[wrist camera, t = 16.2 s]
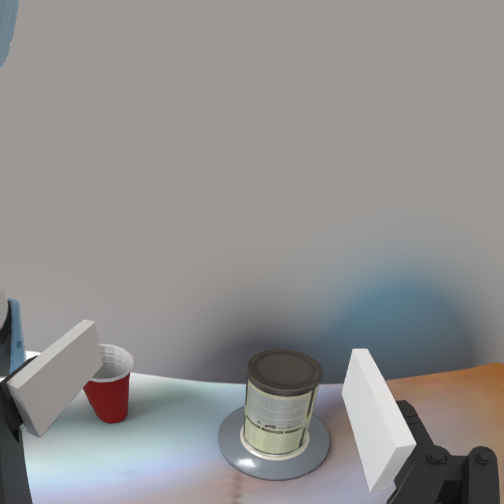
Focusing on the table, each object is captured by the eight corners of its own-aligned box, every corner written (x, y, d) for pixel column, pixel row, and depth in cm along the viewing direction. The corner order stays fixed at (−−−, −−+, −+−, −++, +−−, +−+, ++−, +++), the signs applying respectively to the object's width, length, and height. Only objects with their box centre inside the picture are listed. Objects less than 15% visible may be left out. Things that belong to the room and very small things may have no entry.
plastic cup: (144, 433, 40) (133, 378, 38) (82, 432, 37) (63, 376, 34) (141, 394, 50) (134, 341, 48) (88, 394, 47) (75, 341, 44)
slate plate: (210, 475, 34) (210, 471, 34) (226, 401, 51) (226, 397, 51) (335, 479, 33) (337, 476, 33) (321, 407, 51) (322, 403, 50)
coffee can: (235, 419, 45) (239, 351, 42) (292, 411, 48) (304, 345, 45) (251, 463, 36) (258, 395, 33) (315, 450, 38) (335, 382, 35)
